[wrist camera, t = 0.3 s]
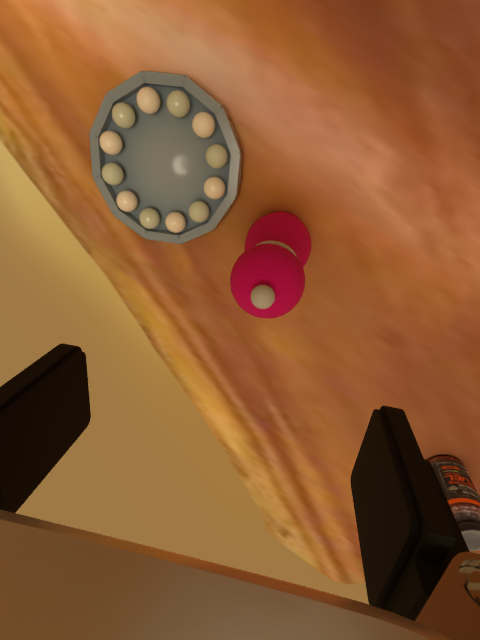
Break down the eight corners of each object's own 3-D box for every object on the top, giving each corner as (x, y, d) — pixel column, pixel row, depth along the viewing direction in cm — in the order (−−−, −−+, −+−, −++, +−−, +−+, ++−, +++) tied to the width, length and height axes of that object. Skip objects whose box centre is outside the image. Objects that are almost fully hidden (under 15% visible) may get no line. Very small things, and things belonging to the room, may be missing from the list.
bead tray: (96, 69, 38) (76, 61, 34) (250, 85, 36) (245, 79, 33) (106, 227, 45) (91, 233, 42) (234, 247, 44) (228, 254, 40)
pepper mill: (293, 275, 44) (284, 361, 26) (241, 251, 44) (197, 320, 26) (321, 223, 40) (333, 279, 23) (266, 196, 40) (234, 232, 23)
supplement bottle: (469, 456, 51) (508, 530, 41) (457, 484, 54) (492, 560, 44) (425, 451, 52) (454, 522, 42) (416, 478, 55) (441, 552, 45)
